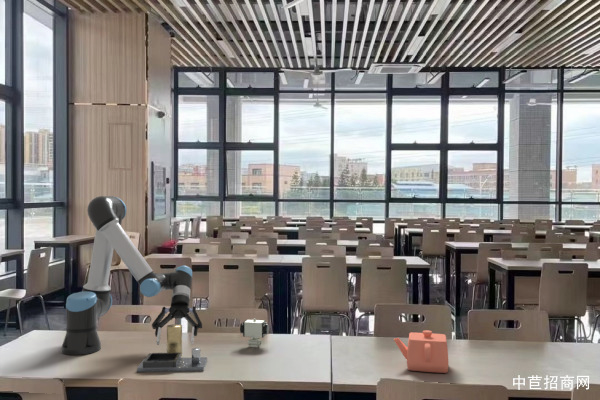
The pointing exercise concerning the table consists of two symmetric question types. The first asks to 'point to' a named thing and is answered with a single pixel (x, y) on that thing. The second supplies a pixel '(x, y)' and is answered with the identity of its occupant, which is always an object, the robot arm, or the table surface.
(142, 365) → the base
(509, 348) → the table surface
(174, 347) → the gold tapered block
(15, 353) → the table surface
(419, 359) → the teapot
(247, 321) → the pneumatic valve
